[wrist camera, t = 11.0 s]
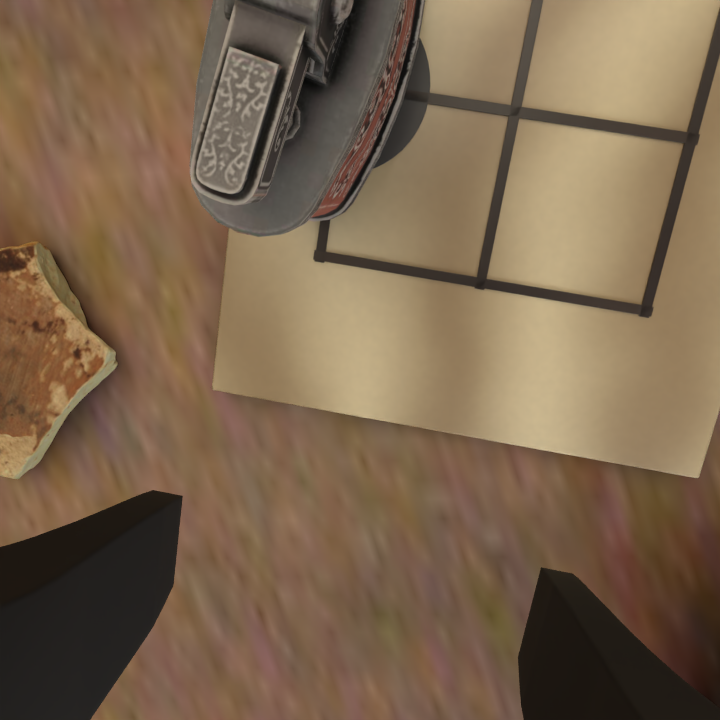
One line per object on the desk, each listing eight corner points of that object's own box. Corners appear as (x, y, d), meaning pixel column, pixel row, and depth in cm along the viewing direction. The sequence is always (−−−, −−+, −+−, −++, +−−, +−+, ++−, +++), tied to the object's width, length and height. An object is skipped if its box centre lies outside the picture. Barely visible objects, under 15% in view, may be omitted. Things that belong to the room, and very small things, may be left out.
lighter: (337, -85, 19) (240, -368, 9) (453, -43, 19) (475, -283, 9) (252, 197, 21) (100, 206, 11) (355, 236, 21) (291, 278, 11)
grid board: (900, -243, 18) (930, -270, 17) (687, 467, 23) (700, 480, 22) (295, -314, 19) (286, -345, 18) (219, 382, 24) (210, 391, 23)
